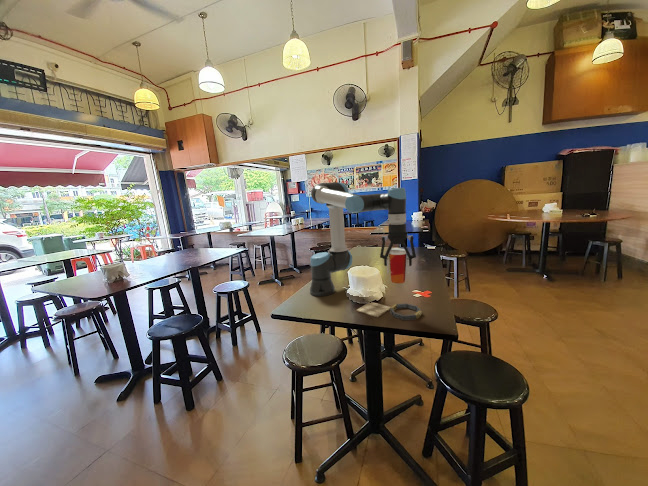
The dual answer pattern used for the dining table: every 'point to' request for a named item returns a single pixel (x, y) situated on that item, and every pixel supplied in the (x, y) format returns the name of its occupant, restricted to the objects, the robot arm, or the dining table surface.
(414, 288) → the dining table surface
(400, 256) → the coffee cup
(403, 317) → the collar
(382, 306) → the plate
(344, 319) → the dining table surface
